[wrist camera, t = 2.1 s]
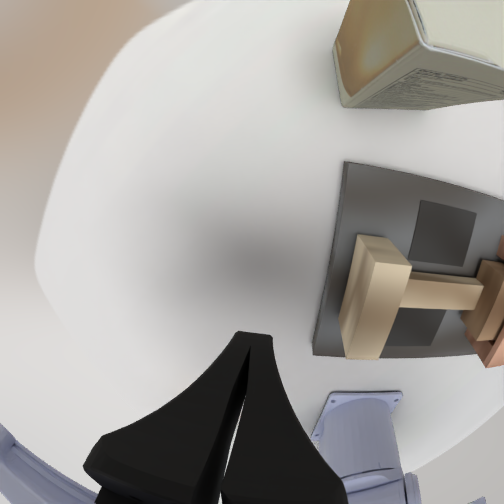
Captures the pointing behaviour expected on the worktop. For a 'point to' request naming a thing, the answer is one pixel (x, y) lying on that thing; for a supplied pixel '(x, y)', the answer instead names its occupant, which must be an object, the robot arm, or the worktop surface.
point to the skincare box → (420, 53)
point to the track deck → (414, 256)
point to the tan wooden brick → (411, 297)
